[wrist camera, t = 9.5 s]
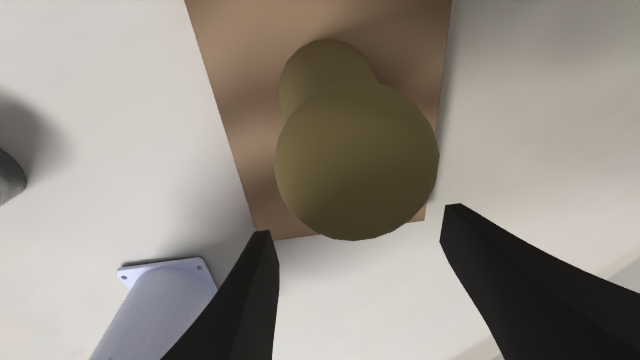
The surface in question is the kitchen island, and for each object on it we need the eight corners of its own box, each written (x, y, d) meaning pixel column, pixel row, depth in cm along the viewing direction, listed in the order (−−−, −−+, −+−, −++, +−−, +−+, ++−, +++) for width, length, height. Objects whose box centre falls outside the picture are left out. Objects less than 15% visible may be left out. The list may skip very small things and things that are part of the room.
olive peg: (257, 80, 16) (202, 173, 7) (344, 14, 15) (426, 17, 5) (314, 154, 19) (331, 292, 10) (391, 105, 18) (500, 212, 8)
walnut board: (417, 209, 24) (424, 220, 23) (261, 230, 24) (260, 242, 23) (456, -163, 13) (474, -182, 11) (156, -124, 13) (140, -140, 11)
